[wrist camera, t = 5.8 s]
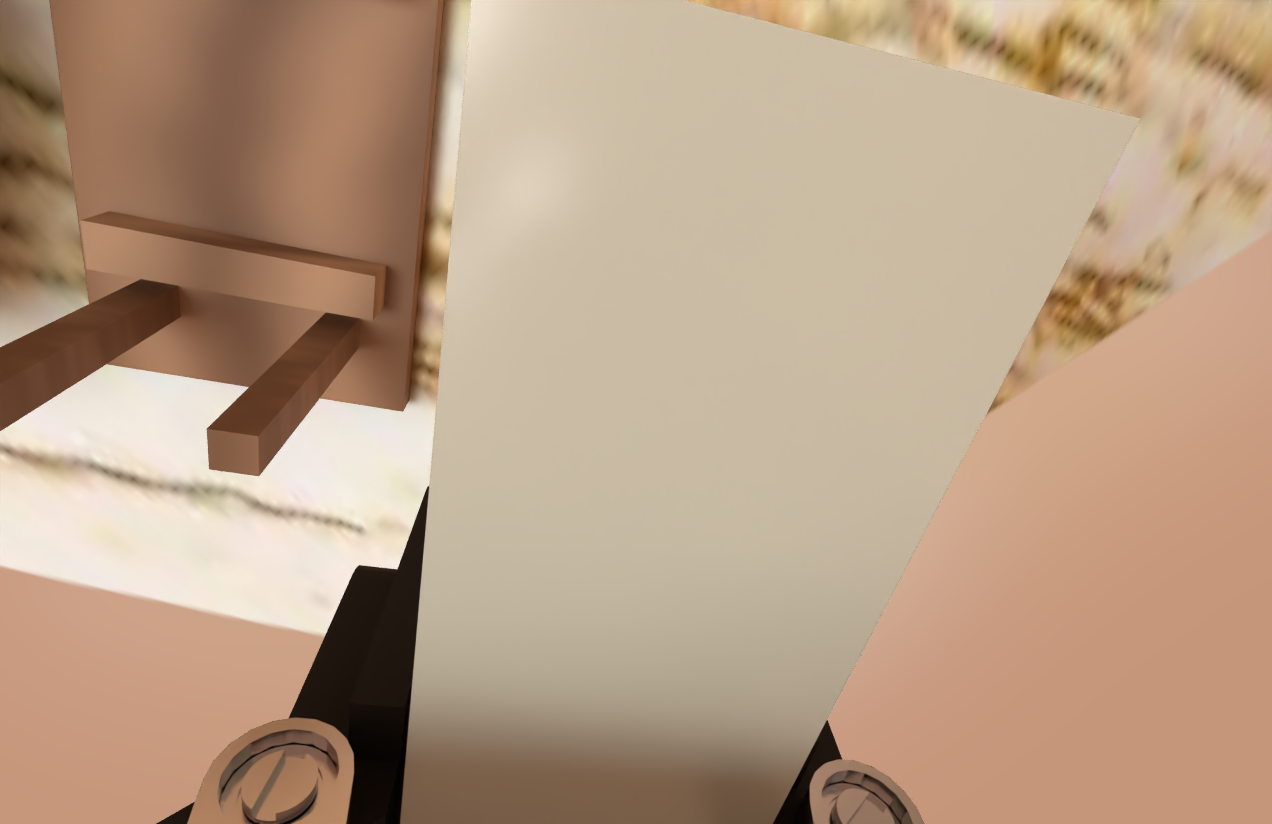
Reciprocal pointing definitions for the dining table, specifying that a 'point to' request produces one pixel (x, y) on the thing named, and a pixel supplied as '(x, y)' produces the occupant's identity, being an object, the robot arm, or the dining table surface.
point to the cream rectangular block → (704, 391)
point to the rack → (243, 204)
